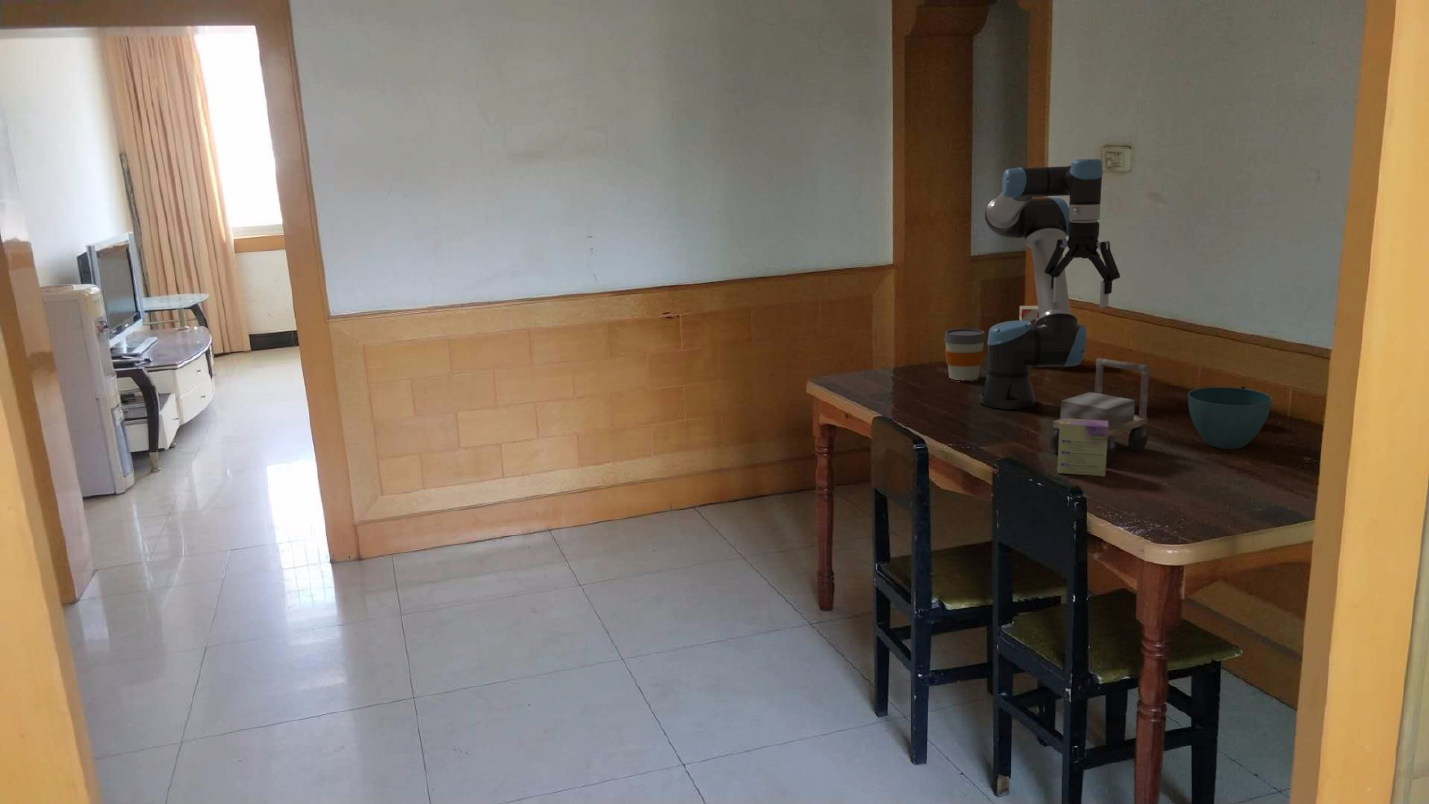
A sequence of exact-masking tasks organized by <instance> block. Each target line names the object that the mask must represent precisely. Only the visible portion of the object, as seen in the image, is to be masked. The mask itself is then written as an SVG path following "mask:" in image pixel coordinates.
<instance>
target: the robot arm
mask: <svg viewBox="0 0 1429 804" xmlns="http://www.w3.org/2000/svg"><path fill="white" fill-rule="evenodd" d="M1103 174H1104V171H1103V161H1102V160H1101V159H1100V158H1078V159H1073V160H1072V161H1071V163H1070V165H1068V166H1064V165H1063V166H1044V167H1043V166H1041V167H1014V168H1007V169H1005V170H1004V172H1003V176H1002V179H1001V180H1002V181H1001V188H1002V191H1001V193H1000V194H999V195H998V196H997V197H995V198H993V199H991V201H990V202H989V203H988V205H987V206H986V208H985V211H984V220H985V223H986V225H987V226H988V228H989V229H990V230H991V231H992V232H994V233H995V234H997V235H998V236H1001V237H1004V238H1008V239H1009V238H1010V239H1024V243H1025V245H1026V246H1027V248H1029V249H1031V256H1032V264H1033V275H1034V282H1035V292H1036V299H1037V306H1038V309H1039V318H1038V319H1037V320H1036V322H1035V326H1032V324H1031V322H1029V321H1024V320H1023V321H1019V320H1009V321H1003V322H1000V323H996V324H995V325H994V324H993V326H990V328H989V330H988V337H987V342H986V343H987V367H986V368H987V372H986V373H987V374H986V378H985V381H984V384H983V387H982V390H981V392H980V395H979V397H980V400H979V402H981V403H982V404H984V405H986V406H985V407H987V406H989V407H988V408H993V409H998V408H1000V409H1001V410H1019V409H1027V408H1028V409H1029V408H1031V407H1033V406H1035V404H1036V403H1035V402H1036V396H1035V393H1034V389H1033V386H1032V383H1031V379H1030V369H1031V368H1067V367H1075V366H1078V365H1080V364H1081V362H1082V361H1083V358H1084V356H1085V352H1086V346H1087V327H1086V326H1085V325H1084V324H1078V318H1077V316H1076V315H1074V314H1073V313H1071V305H1070V299H1069V298H1070V297H1069V291H1068V284H1067V283H1068V282H1067V276H1066V268H1067V267H1068V266H1069V264H1070V263H1071V262H1072V261H1073V259H1079V258H1081V259H1088V261H1091V263H1092V264H1093V266H1094V268H1095V269H1096V270H1097V272H1098V274H1099V275H1100V276H1101V278H1102V280H1101V281H1100V291H1099V293H1100V294H1099V308H1106V307H1108V306H1109V298H1110V297H1109V296H1110V294H1112V292H1113V281H1114V280H1115V281H1116V280H1117V279H1118V280H1119V279H1120V278H1121V274H1120V272H1119V268H1118V267H1117V266H1118V265H1117V264H1116V260H1115V259H1114V256H1113V253H1112V251H1111V242H1110V241H1109V240H1106V241H1100V242H1099V236H1100V222H1099V220H1100V219H1101V200H1102V199H1101V197H1102V183H1103ZM1057 196H1058V197H1057ZM1063 196H1065V197H1067V196H1068V197H1069V201H1068V202H1069V204H1068V203H1067V202H1066V200H1064V199H1063V198H1060V197H1063ZM1034 197H1036V198H1034ZM1039 197H1040V198H1039ZM1067 237H1068V239H1067ZM1066 248H1068V250H1067V252H1066V253H1065V254H1064V252H1065V250H1066ZM1098 250H1099V251H1100V254H1101V255H1100V254H1099V252H1098ZM1101 256H1102V258H1101ZM981 403H980V404H981ZM982 404H981V405H982ZM984 405H983V406H984Z"/></svg>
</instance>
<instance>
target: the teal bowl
mask: <svg viewBox="0 0 1429 804" xmlns="http://www.w3.org/2000/svg"><path fill="white" fill-rule="evenodd" d="M1272 402H1273V398H1272V396H1271V395H1269V394H1267V393H1264V392H1263V391H1258V390H1254V389H1248V388H1245V389H1243V388H1241V387H1229V386H1210V387H1202V388H1195V389H1192V390H1190V391H1189V392H1187V405H1188V411H1189V415H1190V418H1191V421H1192V423H1193V426H1194V428H1195V429H1196V431H1197V432H1198V434H1199V436H1200V437H1201V438H1202V439H1203V440H1204V442H1205V443H1206V444H1207V445H1208V446H1210V447H1213V448H1217V449H1225V450H1235V449H1237V448H1238V449H1242V448H1244V447H1246V446H1247V445H1249V443H1250V442H1251V441H1253V439H1254V438H1255V437H1256V436H1257V434H1259V433H1260V431H1261V429H1262V428H1263V426H1264V425H1265V423H1266V421H1267V419H1268V416H1269V414H1270V410H1271V407H1272ZM1238 449H1237V450H1238Z"/></svg>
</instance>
